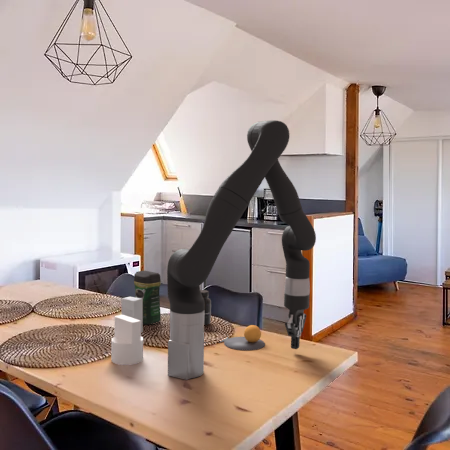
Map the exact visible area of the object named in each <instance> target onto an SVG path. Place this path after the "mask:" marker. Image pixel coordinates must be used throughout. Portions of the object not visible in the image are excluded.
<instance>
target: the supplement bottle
mask: <svg viewBox="0 0 450 450" xmlns="http://www.w3.org/2000/svg"><path fill="white" fill-rule="evenodd" d="M200 291H201V294H202V297H203V299H204V301H205V311H204V325H207V326H209V325H210V324H211V317H212V300H211V298H209V296H210V294H209V293H210V292H209V290H206V289H200ZM208 324H209V325H208Z"/></svg>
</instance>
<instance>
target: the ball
mask: <svg viewBox="0 0 450 450" xmlns="http://www.w3.org/2000/svg"><path fill="white" fill-rule="evenodd" d="M243 337H245V339H246V340H247V341H249V342H252V343H253V342H257V341H258V340H259V339H260V340H261V337H262V331H261V328H260V327H259V326H257V325H256V324H255V325H254V324H250V325H248V326H246V327H245V328H244V332H243Z"/></svg>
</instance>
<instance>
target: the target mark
mask: <svg viewBox="0 0 450 450" xmlns="http://www.w3.org/2000/svg"><path fill="white" fill-rule="evenodd" d="M223 344H224V346H225V347H227V348H228V349H233V350H237V351H257V350H261V349H263V348H264V347H265V345H266V344H265V342H264V340H261V338H260V339H259V340H258V341H257V342H253V343H252V342H249V341H247V340H246V339H245V337H244V336H235V337H234V336H233V337H230V338H229V337H228V339H227V340H225V341H223Z"/></svg>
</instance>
